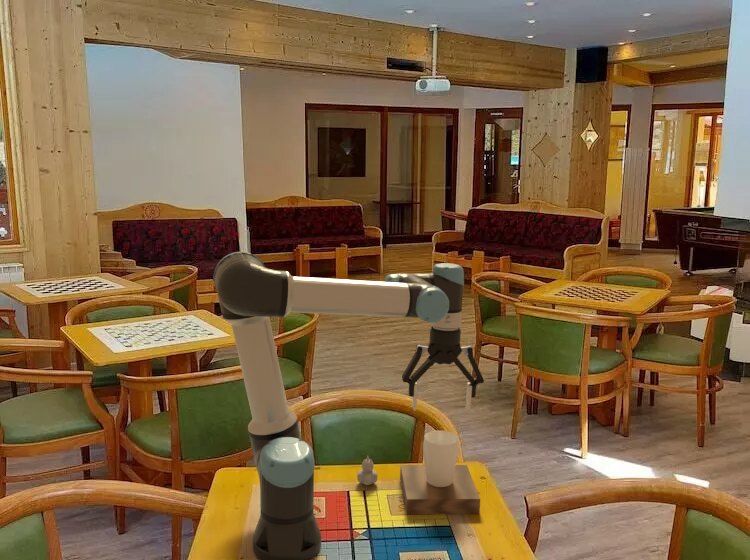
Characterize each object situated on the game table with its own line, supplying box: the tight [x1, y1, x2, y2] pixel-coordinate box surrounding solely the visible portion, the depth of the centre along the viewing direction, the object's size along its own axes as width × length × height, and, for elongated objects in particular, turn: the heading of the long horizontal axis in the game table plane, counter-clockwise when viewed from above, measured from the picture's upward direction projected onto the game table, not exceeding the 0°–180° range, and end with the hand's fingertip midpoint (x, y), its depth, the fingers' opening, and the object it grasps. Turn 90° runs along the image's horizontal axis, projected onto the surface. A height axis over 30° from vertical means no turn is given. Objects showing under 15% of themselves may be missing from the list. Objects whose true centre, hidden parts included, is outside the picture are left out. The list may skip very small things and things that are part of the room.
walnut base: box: [399, 464, 481, 515], centre depth 175 cm, size 18×18×4 cm
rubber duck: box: [356, 455, 379, 486], centre depth 179 cm, size 5×7×8 cm
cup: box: [422, 430, 460, 487], centre depth 173 cm, size 9×9×12 cm
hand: (441, 408), depth 170 cm, fingers open, 13 cm apart
